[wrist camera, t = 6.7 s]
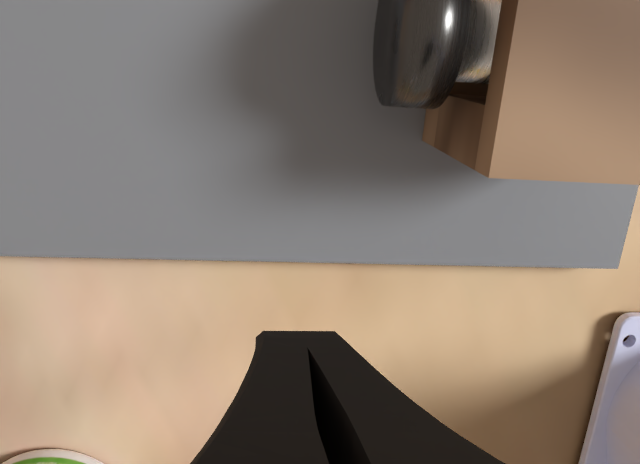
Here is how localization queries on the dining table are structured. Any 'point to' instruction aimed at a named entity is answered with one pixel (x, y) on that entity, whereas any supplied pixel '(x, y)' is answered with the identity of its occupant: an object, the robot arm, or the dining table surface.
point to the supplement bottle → (52, 457)
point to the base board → (252, 147)
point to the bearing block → (551, 96)
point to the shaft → (431, 48)
